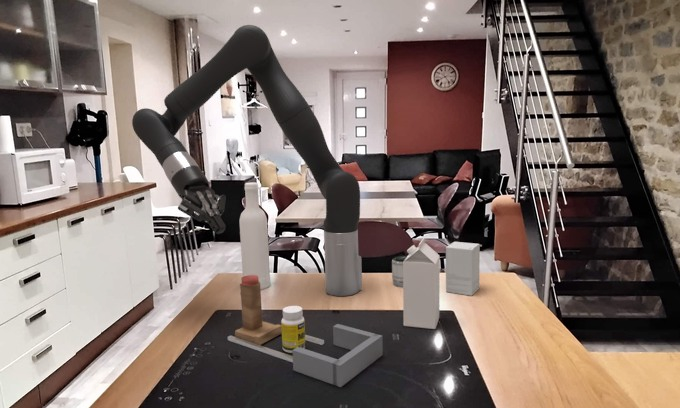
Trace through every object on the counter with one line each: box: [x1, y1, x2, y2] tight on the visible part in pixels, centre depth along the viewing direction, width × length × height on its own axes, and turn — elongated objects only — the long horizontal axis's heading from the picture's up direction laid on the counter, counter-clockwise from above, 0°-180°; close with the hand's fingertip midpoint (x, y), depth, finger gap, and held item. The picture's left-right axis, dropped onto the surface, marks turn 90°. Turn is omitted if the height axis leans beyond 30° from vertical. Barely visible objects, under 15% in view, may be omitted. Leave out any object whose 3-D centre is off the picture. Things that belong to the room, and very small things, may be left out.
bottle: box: [239, 181, 271, 290], centre depth 135 cm, size 8×8×30 cm
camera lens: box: [391, 255, 408, 288], centre depth 135 cm, size 6×6×8 cm
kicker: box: [234, 275, 282, 346], centre depth 102 cm, size 7×7×13 cm
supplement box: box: [445, 241, 481, 297], centre depth 128 cm, size 7×7×13 cm
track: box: [227, 334, 325, 364], centre depth 100 cm, size 10×18×1 cm, turn 54°
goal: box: [292, 323, 384, 388], centre depth 90 cm, size 14×11×4 cm
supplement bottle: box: [280, 305, 306, 354], centre depth 96 cm, size 5×5×8 cm
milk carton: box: [402, 237, 441, 330], centre depth 107 cm, size 7×7×19 cm
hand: (221, 231), depth 108 cm, fingers closed
